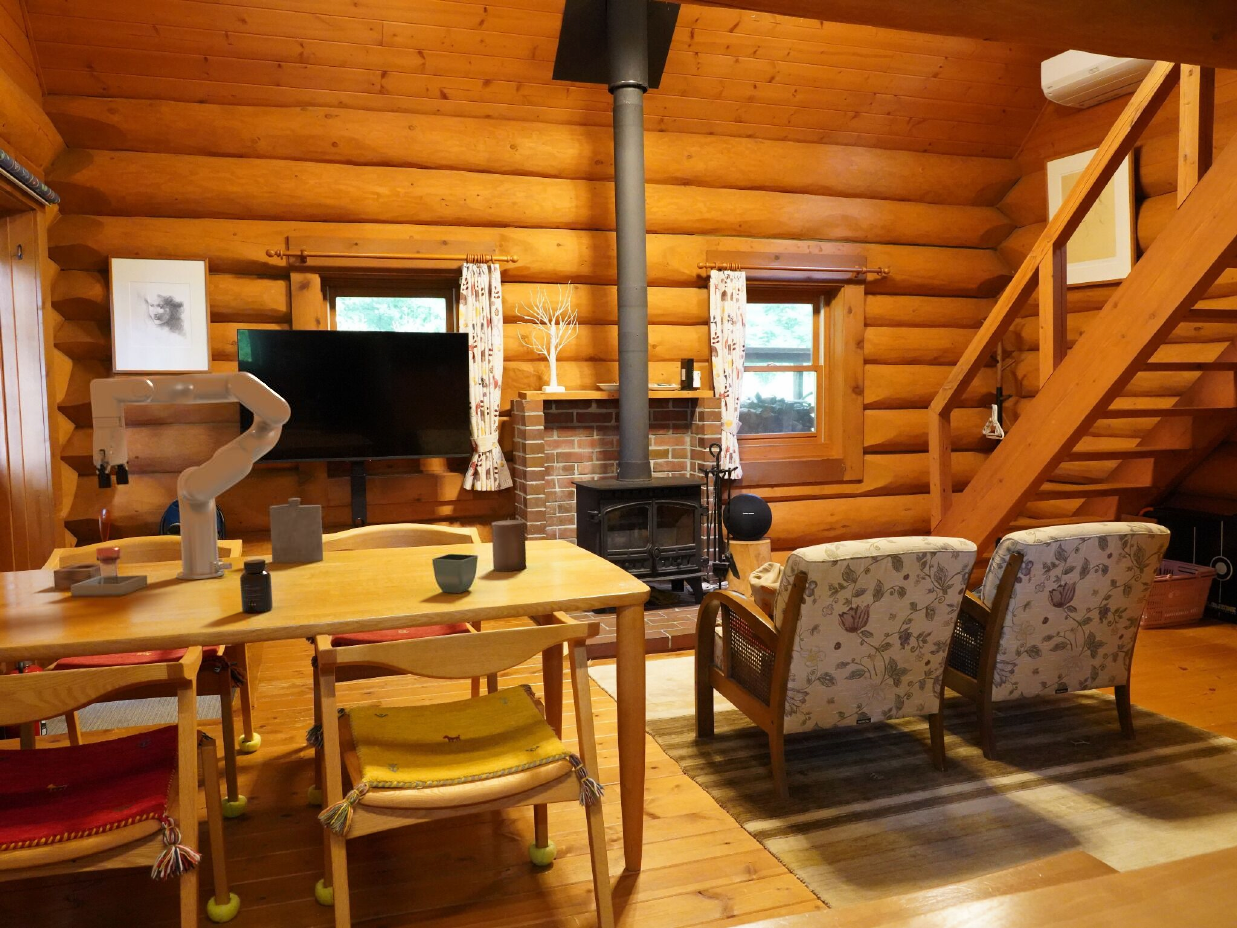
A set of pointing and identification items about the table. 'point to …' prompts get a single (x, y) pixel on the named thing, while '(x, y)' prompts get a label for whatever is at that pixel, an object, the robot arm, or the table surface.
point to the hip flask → (296, 533)
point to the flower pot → (455, 572)
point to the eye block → (75, 575)
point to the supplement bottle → (256, 587)
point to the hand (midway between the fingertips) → (114, 486)
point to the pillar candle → (509, 545)
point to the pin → (108, 564)
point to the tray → (108, 586)
